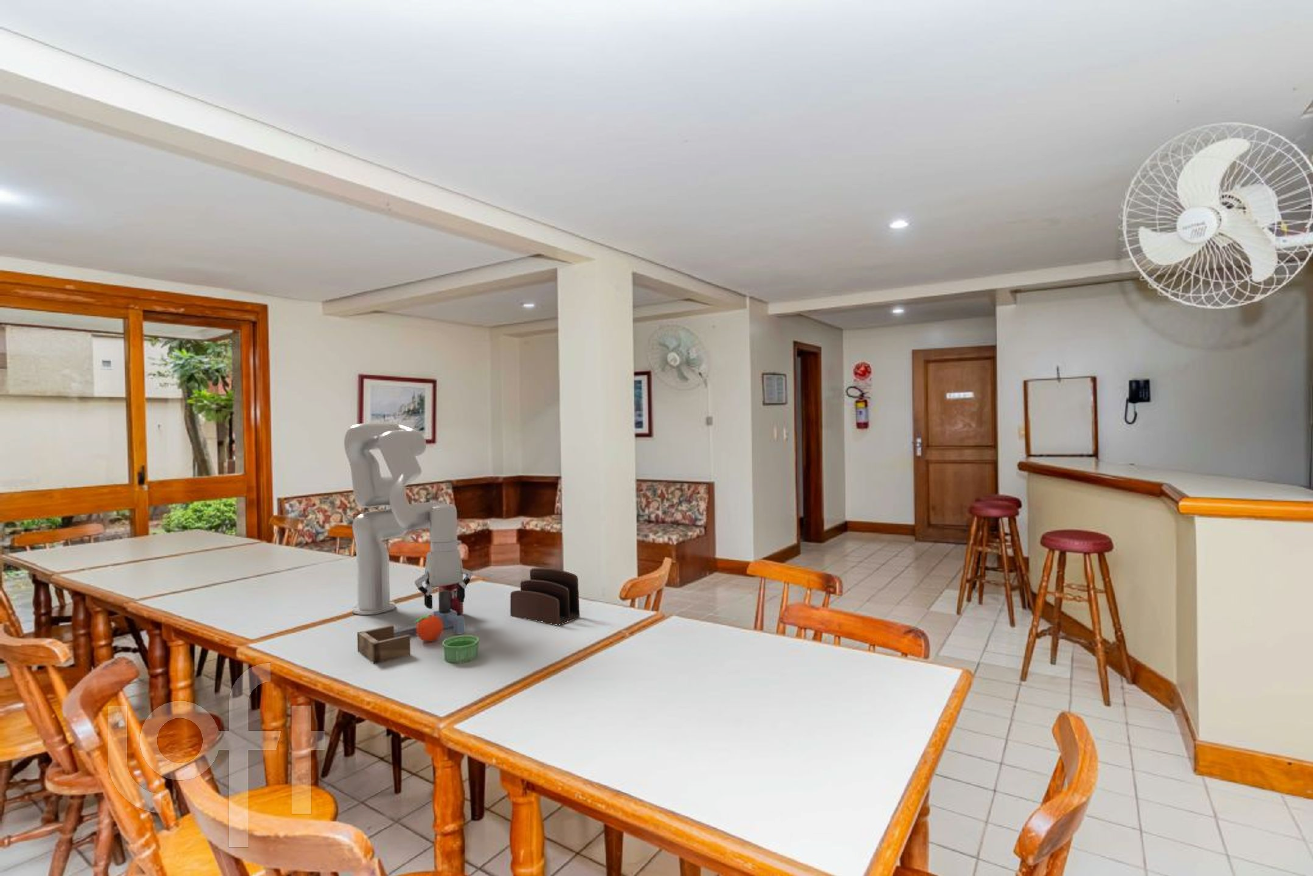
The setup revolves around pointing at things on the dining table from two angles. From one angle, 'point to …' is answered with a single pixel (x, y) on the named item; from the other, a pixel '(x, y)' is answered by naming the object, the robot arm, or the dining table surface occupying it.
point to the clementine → (429, 628)
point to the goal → (382, 644)
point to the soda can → (453, 598)
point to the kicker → (449, 613)
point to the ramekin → (460, 648)
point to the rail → (405, 631)
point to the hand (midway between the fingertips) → (445, 604)
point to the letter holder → (547, 597)
